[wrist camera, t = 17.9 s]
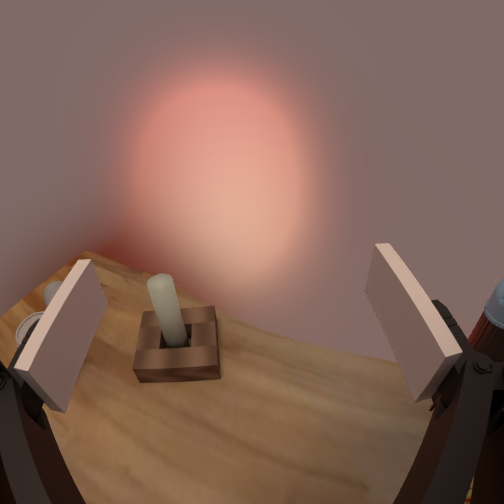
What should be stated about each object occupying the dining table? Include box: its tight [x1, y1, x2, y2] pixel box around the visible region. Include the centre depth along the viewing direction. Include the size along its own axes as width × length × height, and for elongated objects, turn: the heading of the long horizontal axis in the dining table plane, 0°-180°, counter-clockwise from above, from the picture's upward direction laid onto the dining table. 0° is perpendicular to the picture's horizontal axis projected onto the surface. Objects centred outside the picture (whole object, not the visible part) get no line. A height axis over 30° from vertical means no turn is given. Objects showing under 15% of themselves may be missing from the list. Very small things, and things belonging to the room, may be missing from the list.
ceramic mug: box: [44, 281, 63, 307], centre depth 57 cm, size 11×8×8 cm
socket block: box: [133, 306, 221, 383], centre depth 50 cm, size 14×14×4 cm
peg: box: [147, 274, 190, 349], centre depth 47 cm, size 4×4×16 cm
